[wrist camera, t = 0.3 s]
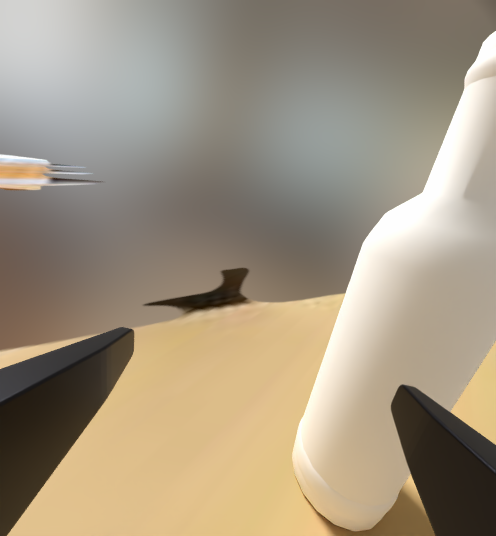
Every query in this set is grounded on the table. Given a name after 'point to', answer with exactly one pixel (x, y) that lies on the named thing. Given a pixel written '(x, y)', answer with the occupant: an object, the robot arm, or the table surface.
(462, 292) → the bottle
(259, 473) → the table surface
